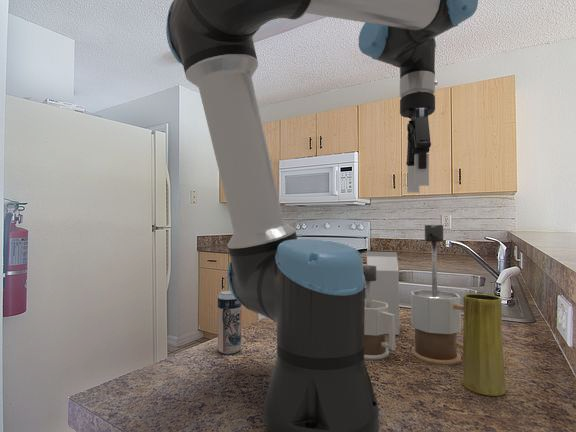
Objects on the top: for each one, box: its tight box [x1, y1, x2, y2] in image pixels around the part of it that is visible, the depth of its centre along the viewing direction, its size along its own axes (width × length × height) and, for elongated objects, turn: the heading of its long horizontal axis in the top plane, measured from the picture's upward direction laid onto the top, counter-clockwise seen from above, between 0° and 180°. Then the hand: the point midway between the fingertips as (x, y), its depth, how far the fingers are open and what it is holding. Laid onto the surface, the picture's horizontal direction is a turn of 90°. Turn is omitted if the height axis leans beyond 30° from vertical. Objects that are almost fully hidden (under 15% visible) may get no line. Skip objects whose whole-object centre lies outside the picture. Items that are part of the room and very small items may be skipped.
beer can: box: [217, 289, 242, 355], centre depth 70 cm, size 5×5×12 cm
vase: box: [461, 292, 507, 397], centre depth 54 cm, size 6×6×14 cm
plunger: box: [417, 224, 453, 299], centre depth 67 cm, size 6×6×14 cm
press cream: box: [363, 264, 396, 361], centre depth 68 cm, size 8×10×17 cm
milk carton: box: [366, 251, 400, 336], centre depth 83 cm, size 7×7×19 cm
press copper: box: [410, 289, 464, 366], centre depth 66 cm, size 9×12×12 cm
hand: (417, 189), depth 77 cm, fingers open, 13 cm apart
